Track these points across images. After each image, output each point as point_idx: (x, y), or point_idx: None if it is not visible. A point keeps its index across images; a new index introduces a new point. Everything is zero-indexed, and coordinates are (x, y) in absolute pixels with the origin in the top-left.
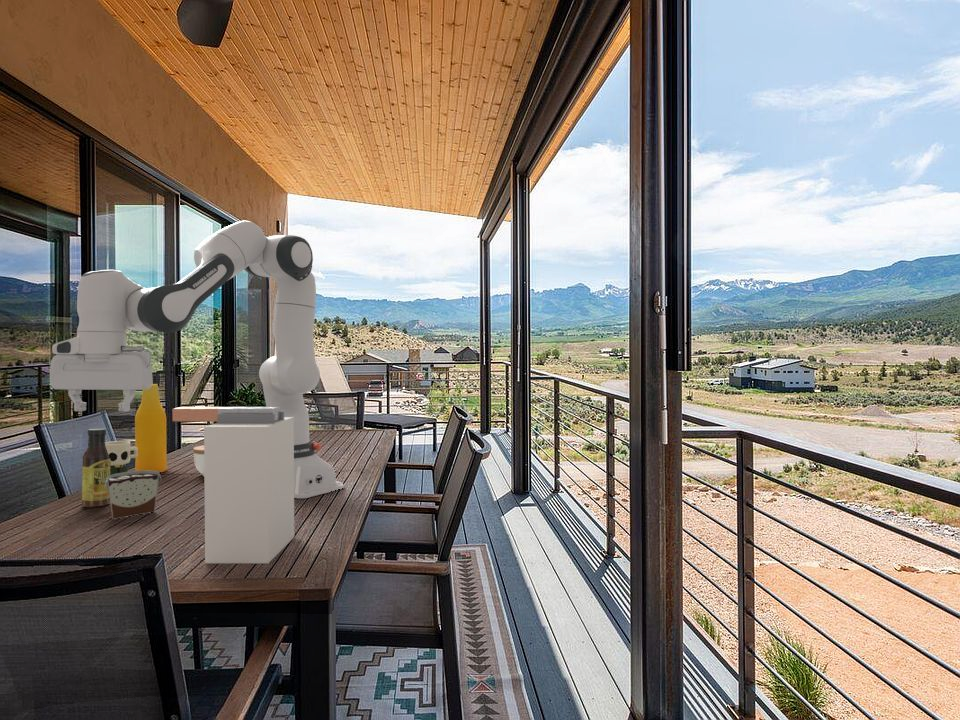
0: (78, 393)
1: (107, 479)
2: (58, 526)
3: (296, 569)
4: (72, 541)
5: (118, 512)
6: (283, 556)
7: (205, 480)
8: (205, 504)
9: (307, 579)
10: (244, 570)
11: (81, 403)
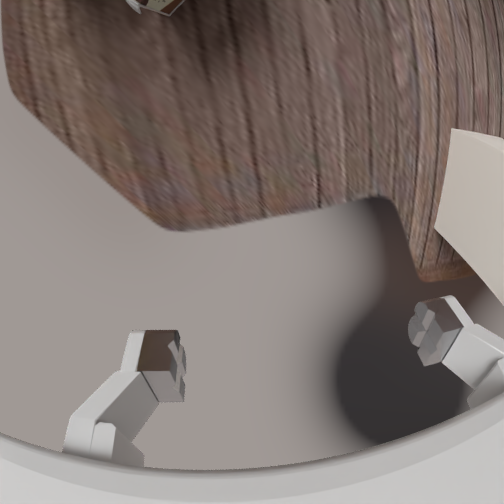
0: (130, 445)
1: (138, 5)
2: (96, 78)
3: None
4: (195, 149)
5: (174, 5)
6: None
7: (493, 292)
8: (475, 270)
9: None
10: None
11: (181, 394)
